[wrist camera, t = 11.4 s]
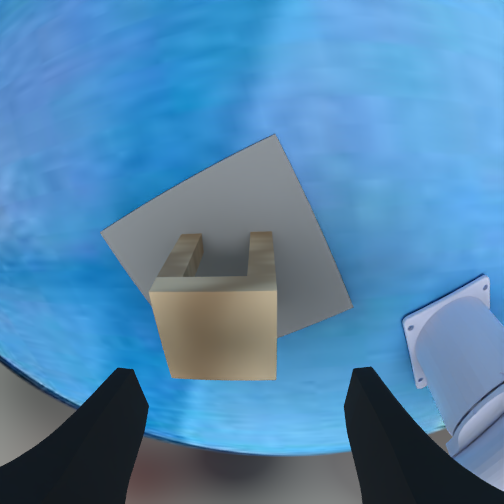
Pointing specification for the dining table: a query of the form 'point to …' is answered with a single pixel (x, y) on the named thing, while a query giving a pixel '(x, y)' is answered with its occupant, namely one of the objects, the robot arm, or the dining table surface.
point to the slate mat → (239, 232)
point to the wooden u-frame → (218, 314)
